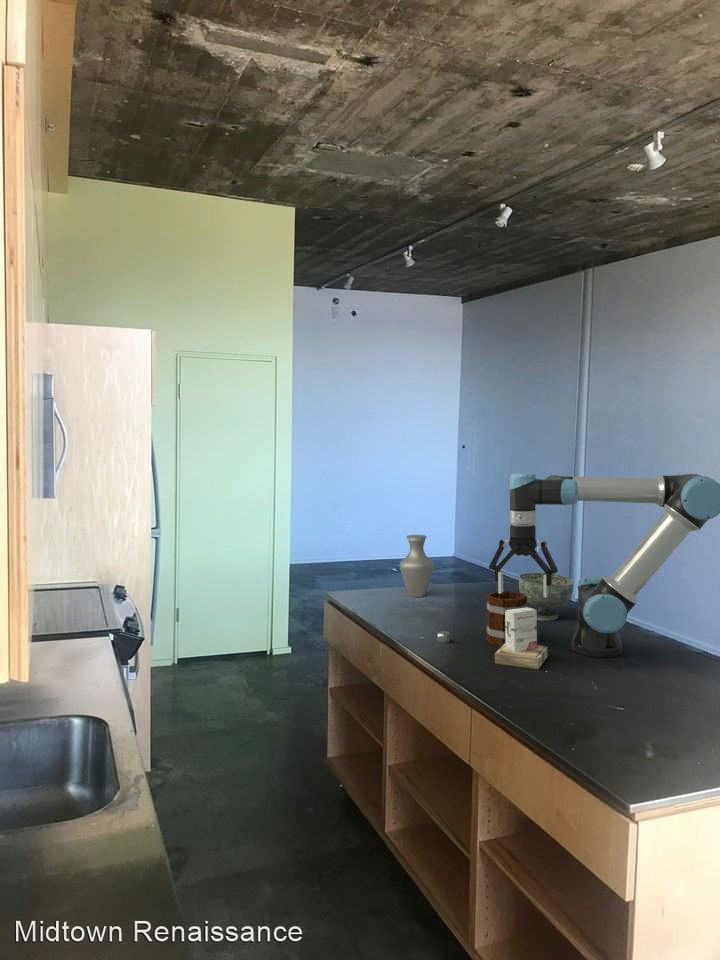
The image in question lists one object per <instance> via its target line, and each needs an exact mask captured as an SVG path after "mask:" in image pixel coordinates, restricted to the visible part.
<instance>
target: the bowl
mask: <svg viewBox="0 0 720 960" xmlns="http://www.w3.org/2000/svg"><path fill="white" fill-rule="evenodd" d="M545 574H546V573H545V572H526V573H522V574H520V575H519V579H518V591H519V593H523V594H524V595H526V596H527V603H528V604H531V605H534V606H536V607H539V609H535V610H536V611H537V621H547V622H548V621H555V620H558V619H559V614H558V613H557V612H555V611H553V610H550V608H559V607H562V606H564V605H566V604H568V603H569V601H571V598H572V596H573V590H574V583H575V581H574V579H573V578H570V577H568V576H565V575H562V574H557V573H555V574H552V583H551V585H550V586H548V596H547V597H544V575H545Z"/></svg>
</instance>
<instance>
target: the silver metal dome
mask: <svg viewBox="0 0 720 960" xmlns="http://www.w3.org/2000/svg"><path fill="white" fill-rule="evenodd" d="M436 642H437V643H438V644H444V645H445V644H449V643H450V632H449V631H443V630H442V631H441V630H440V631H437V632H436Z"/></svg>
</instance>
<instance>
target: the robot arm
mask: <svg viewBox="0 0 720 960" xmlns="http://www.w3.org/2000/svg"><path fill="white" fill-rule="evenodd" d="M577 502H606V503H608V502H609V503H630V504H631V503H632V504H634V503H635V504H656V505H657V506H658V507H660V508H664V513H662V516H660V518H659V519H658V520H657V522H656V523H655V524H654V525H653V526H652V528H651V529H649V531H648V532H647V534H646V535H645V536H644V537H643V538H642V539H641V540H640V541H639V543H638V544H637V546H636V547H635V548H634V549H632V551H631V552H630V553H629V555H627V557H626V559H624V561H623V562H622V563H621V564H620V565H619V567H617V569H616V570H615V572H613V574H612V575H610V576H603V577H598V576H596V577H595V576H587V577H586V576H584V577H580V578H579V579H578V580H577V581H578V583H577V589H578V590H577V591H578V592H577V625H576V628H575V631H574V634H573V636H572V639H571V650H572V651H573V652H575V653H577V654H579V655H583V656H588V657H595V658H611V657H612V658H613V657H617V656H620V655H621V654H622V653H623V643H622V641H621V637H620V634H619V630H620V629H622V628H623V626H624V625H625V624H626V622H627V618H628V613H630V611H632V609H633V608H634V607H635V605H636V604H637V595H638V594H639V592H640V591H641V590H642V589H644V587H645V585H647V583H648V582H649V581H650V580H651V578H652V577H653V576H654V575H655V574H656V573H657V572H658V570H659V569H661V566H663V564H664V563H665V562H666V561H667V560H668V558H669V557H670V556H672V554H673V553H674V551H676V549H677V548H678V547H679V546H680V545H681V544H682V542H683V541H684V540H685V539H686V537H687V536H688V535H689V534H690V532H694V531H700V530H701V529H702V527H704V526H705V524H707V522H708V521H709V520H712V519H714V518H716V517H718V516H719V515H720V483H719V482H717V481H716V480H715V479H713V478H711V477H709V476H705V475H701V474H697V473H686V474H674V475H659V476H658V477H656V478H649V477H648V478H646V477H645V478H643V477H641V478H640V477H609V476H608V477H607V476H605V477H604V476H603V477H601V476H565V475H563V476H562V475H561V476H560V475H557V474H553V475H551V474H550V475H548V476H546V478H545V479H538V478H537V477H536V473H535V472H522V471H521V472H514V473H512V474H511V475H510V476H509V523H510V524H511V525H510V526H509V540H507V539H505V538H502V539H500V540H499V543H498V548H497V550H496V552H495V554H494V555H493V558H492V560H491V562H490V564H489V566H488V569H489V570H493V571H494V575H495V576H494V578H495V579H494V580H495V583H498V586H497V588H498V589H497V591H498V593H500V594H501V593H502V592H503V591H504V570H502V568H503V567H504V566H506V564H507V562H509V561H510V559H511V558H512V557H513V556H514V555H516V556H524V557H528V556H530V557H531V558H532V559H534V561H535V562H536V563H537V565H538V566H539V567H540V568H541V570H542V571H543V573H546V574H545V575H544V597H547V596H548V586H550V585H551V583H552V574H557V573H558V571H559V569H558V567H557V565H556V563H555V561H554V559H553V557H552V555H551V553H550V551H549V549H548V542H547V541H546V540H543V541H537V539H536V537H537V536H536V534H537V529H536V527H537V526H536V525H535V524H536V521H537V520H536V517H537V516H536V512H537V511H536V509H537V508H536V506H537V505H539V506H541V505H549V506H550V505H553V506H559V505H561V506H567V505H570V506H571V505H576V504H577ZM507 546H509V547H510V551H508V553H507V555H505V557H503V559H502V560H501V561H500V562H499V564H498V565H497V563H498V561H499V559H500V557H501V555H502V553H503V551H504V550H505V548H506V547H507ZM537 547H538V548H539V549H540V550H541V552H542V554H543V556H544V558H545V561H546V562H545V561H544V560H543V559H542V557H541V556H540V555H539V553H538V552H537V551H536V548H537ZM546 563H547V564H548V565H547V564H546Z"/></svg>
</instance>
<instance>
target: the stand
mask: <svg viewBox="0 0 720 960" xmlns="http://www.w3.org/2000/svg"><path fill="white" fill-rule="evenodd" d="M548 657H549V647H548V646H545V645H541V644H537V648H535V649H530V650H525V651H519V652H514V651H511V650H509V649H507V648H506V643H505V644H504V645H503V646H500V647H499V649H497V650H496V652H495V653H494V664H497V665H503V666H511V667H512V666H513V667H519V668H527V669H534V670H539V669H540V668H541V667H542V665H544V662H545V661H546V660H547V659H548Z"/></svg>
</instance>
